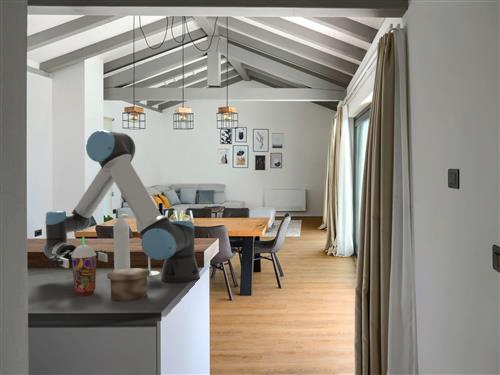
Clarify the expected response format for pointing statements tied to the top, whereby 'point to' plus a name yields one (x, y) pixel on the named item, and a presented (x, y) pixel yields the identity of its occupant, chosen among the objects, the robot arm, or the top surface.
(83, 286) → the smoothie
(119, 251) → the water bottle
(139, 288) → the tan muffin-shaped cylinder
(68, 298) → the top surface
